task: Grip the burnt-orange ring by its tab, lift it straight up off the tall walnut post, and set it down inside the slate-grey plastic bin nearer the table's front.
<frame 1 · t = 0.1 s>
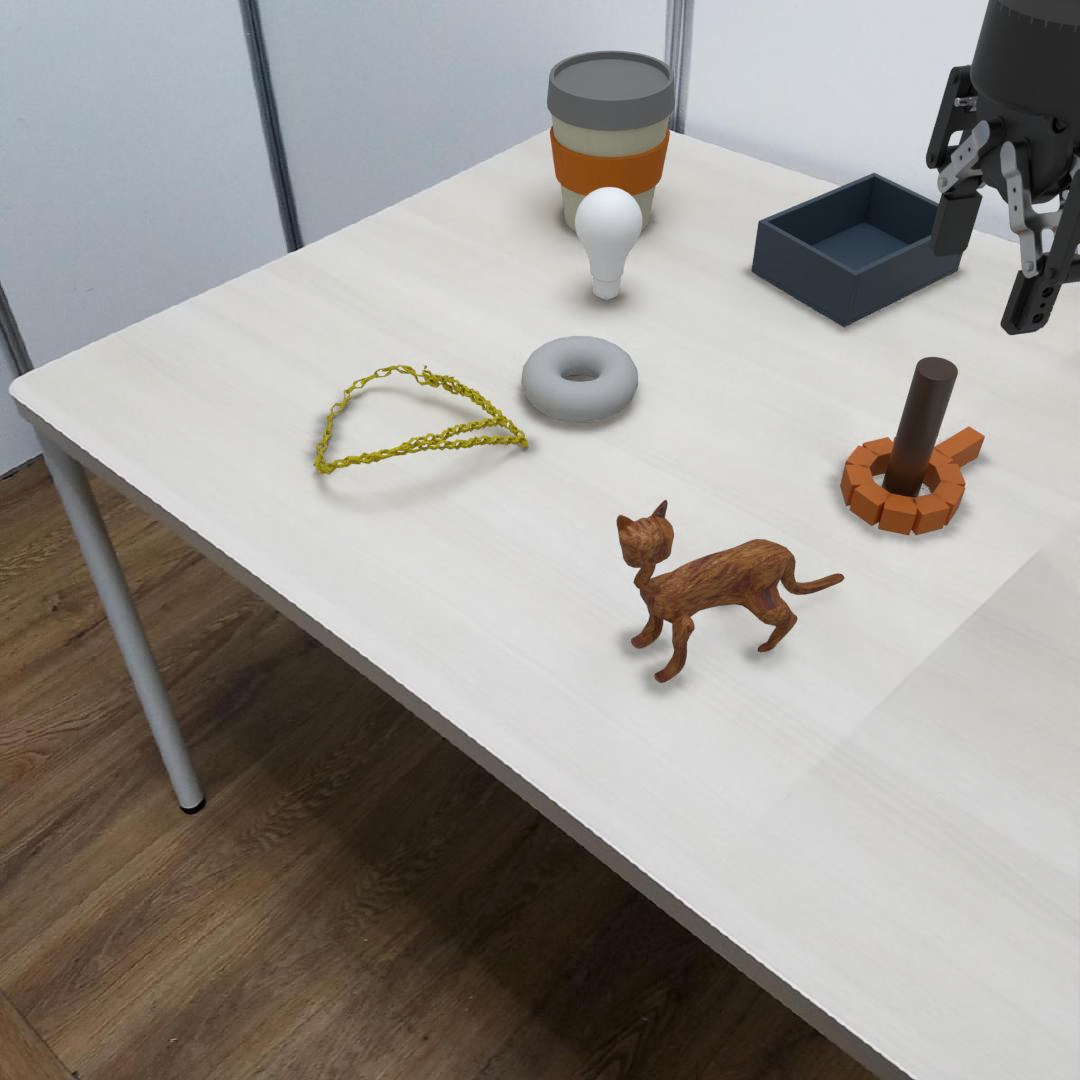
hand: (980, 289, 62), 22 cm above the table, tool pointing down, fingers open, 8 cm apart
reusable coffee cup: (606, 219, 114), on the table
cat figurine: (731, 631, 73), on the table
donut: (579, 395, 92), on the table
ring: (898, 495, 82), on the table
bin: (854, 271, 105), on the table
lightbulb: (605, 299, 103), on the table
decorative chain: (423, 441, 88), on the table
post: (898, 495, 82), on the table
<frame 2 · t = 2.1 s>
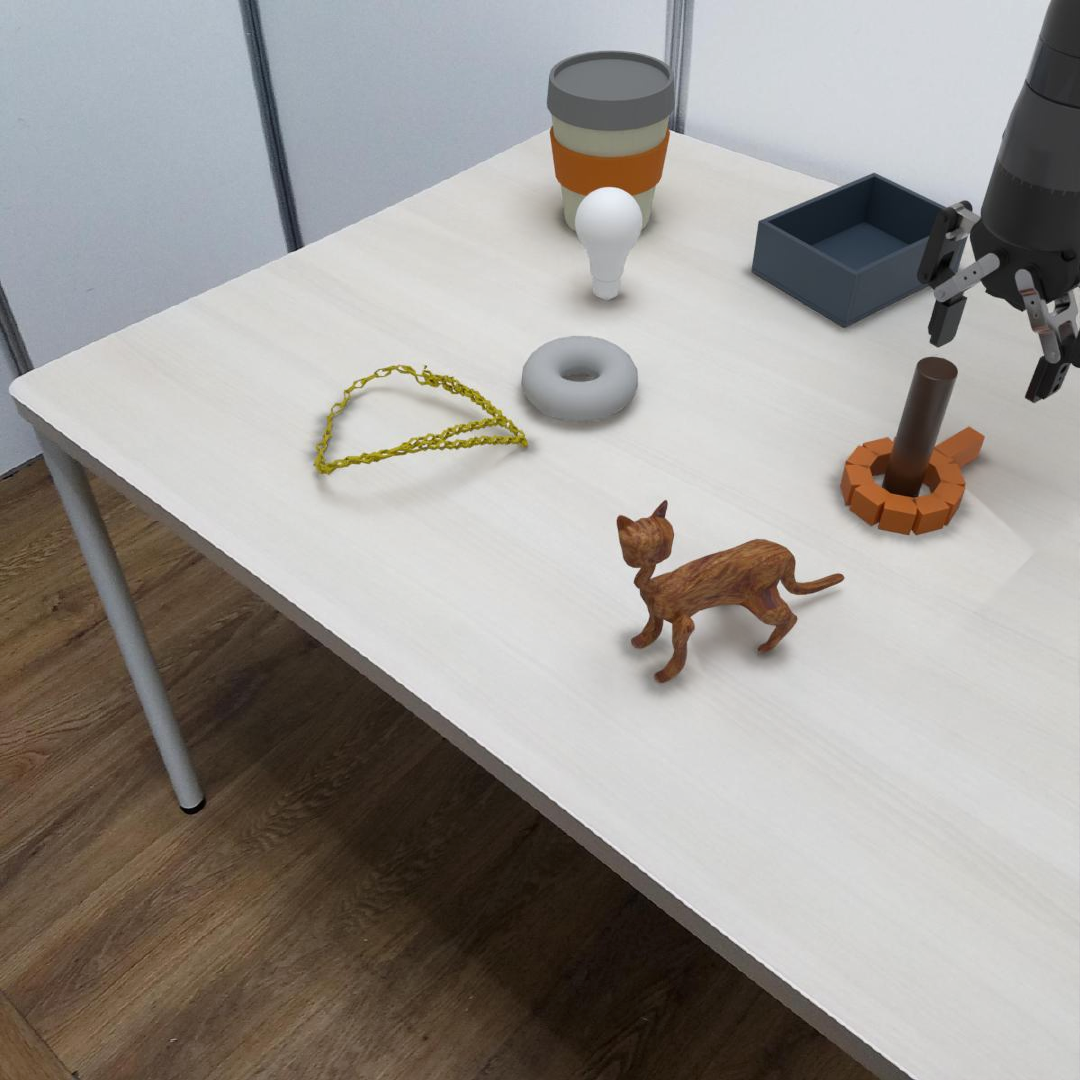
hand: (987, 368, 79), 9 cm above the table, tool pointing down, fingers open, 8 cm apart
nothing on the table moved.
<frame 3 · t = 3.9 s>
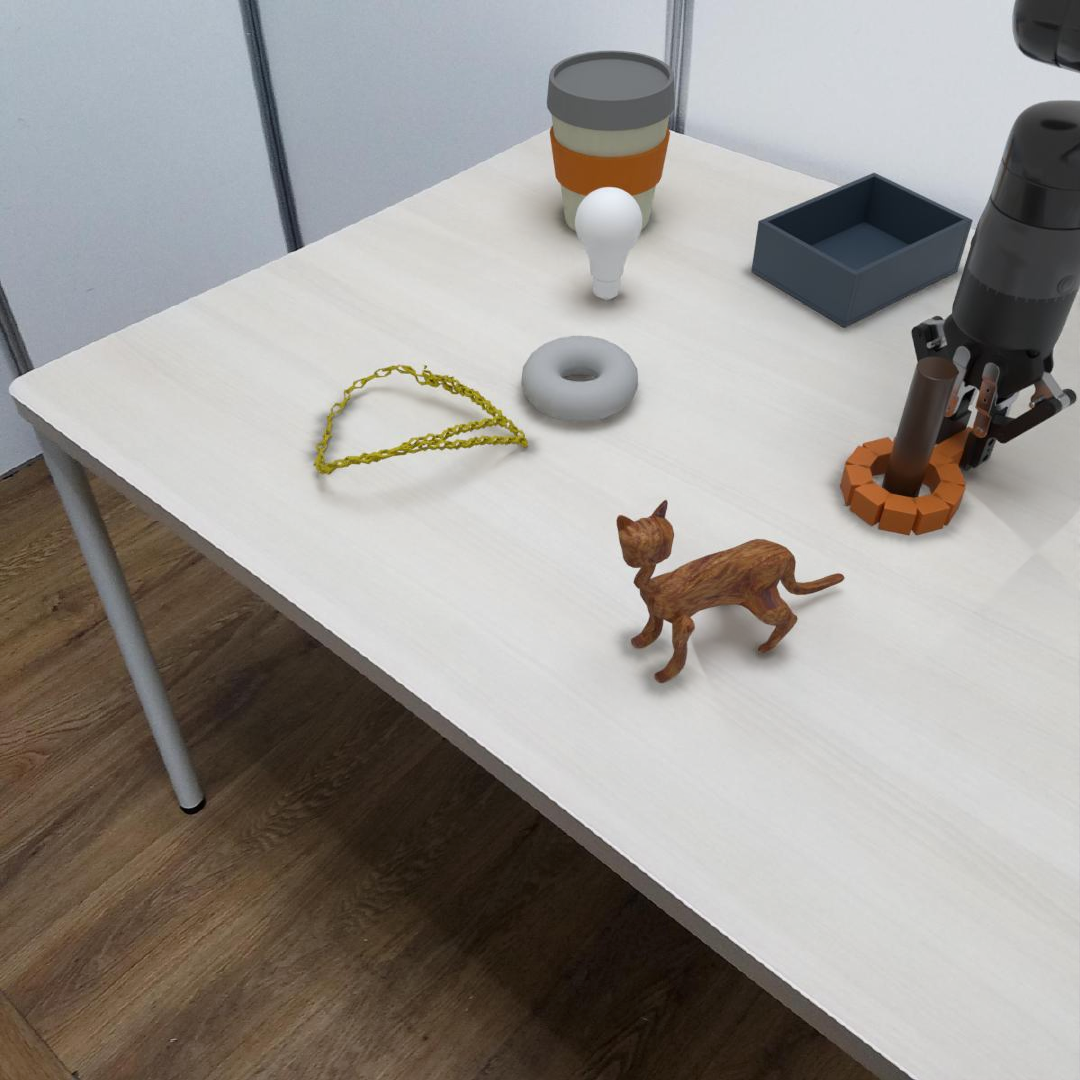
hand: (958, 457, 85), 0 cm above the table, tool pointing down, fingers closed on ring, 1 cm apart
ring: (898, 495, 82), on the table, touching gripper
everything else where it was.
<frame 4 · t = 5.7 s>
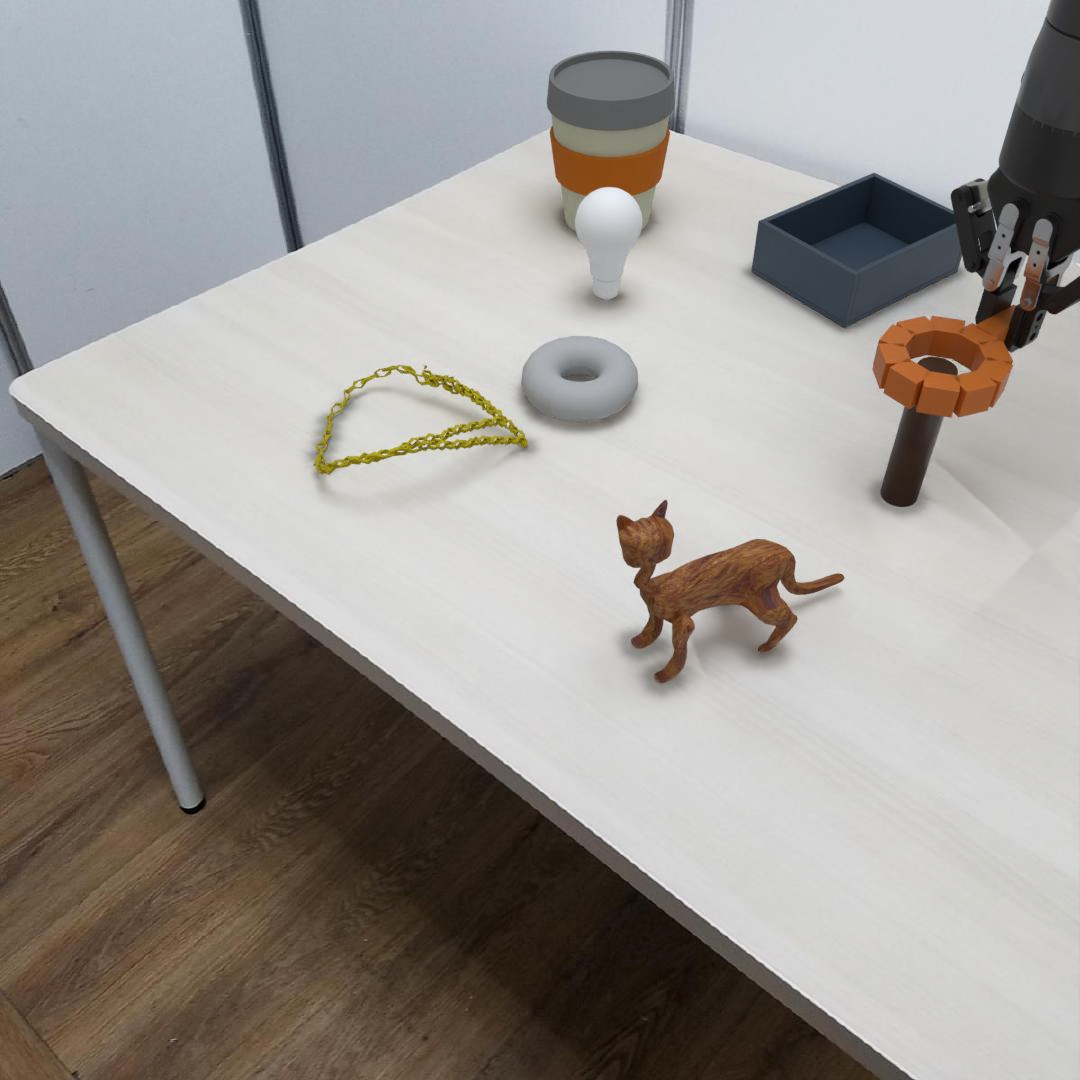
hand: (1001, 338, 77), 11 cm above the table, tool pointing down, fingers closed on ring, 1 cm apart
ring: (937, 377, 75), point 11 cm above the table, touching gripper
everything else where it was.
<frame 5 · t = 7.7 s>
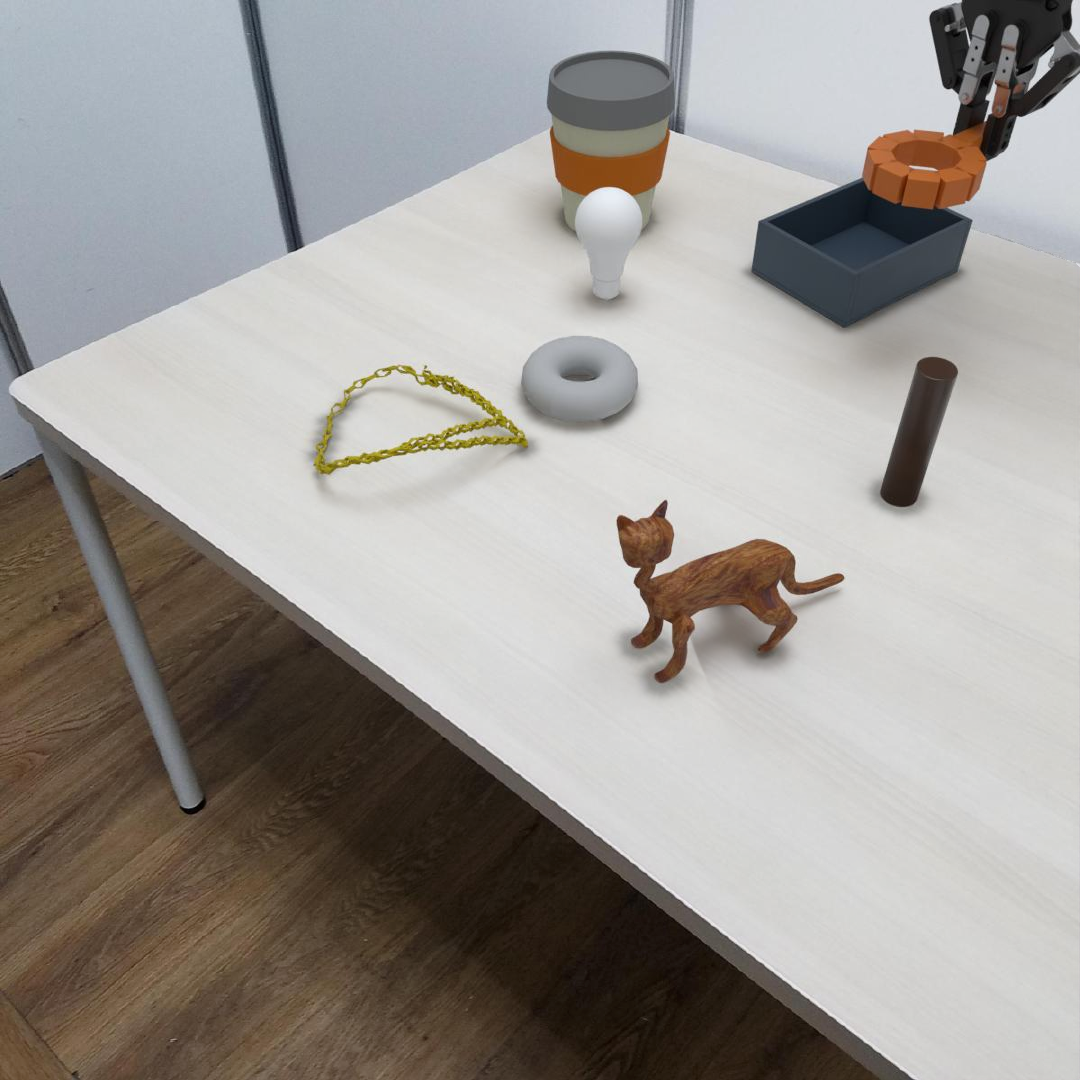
hand: (976, 152, 86), 17 cm above the table, tool pointing down, fingers closed on ring, 1 cm apart
ring: (919, 181, 84), point 16 cm above the table, touching gripper
everything else where it was.
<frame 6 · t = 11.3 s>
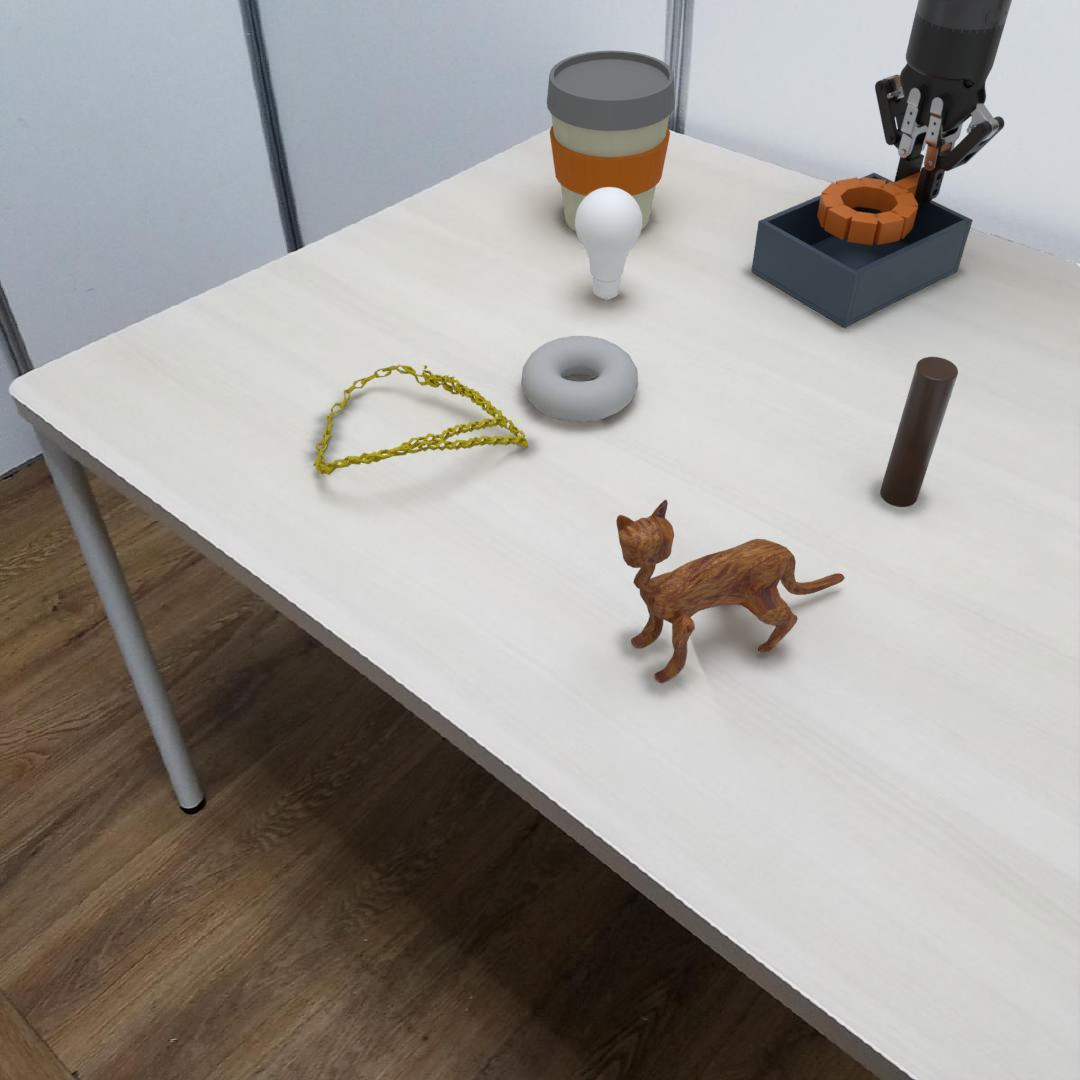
hand: (913, 197, 104), 6 cm above the table, tool pointing down, fingers closed on ring, 1 cm apart
ring: (864, 221, 101), point 5 cm above the table, touching bin, gripper
everything else where it was.
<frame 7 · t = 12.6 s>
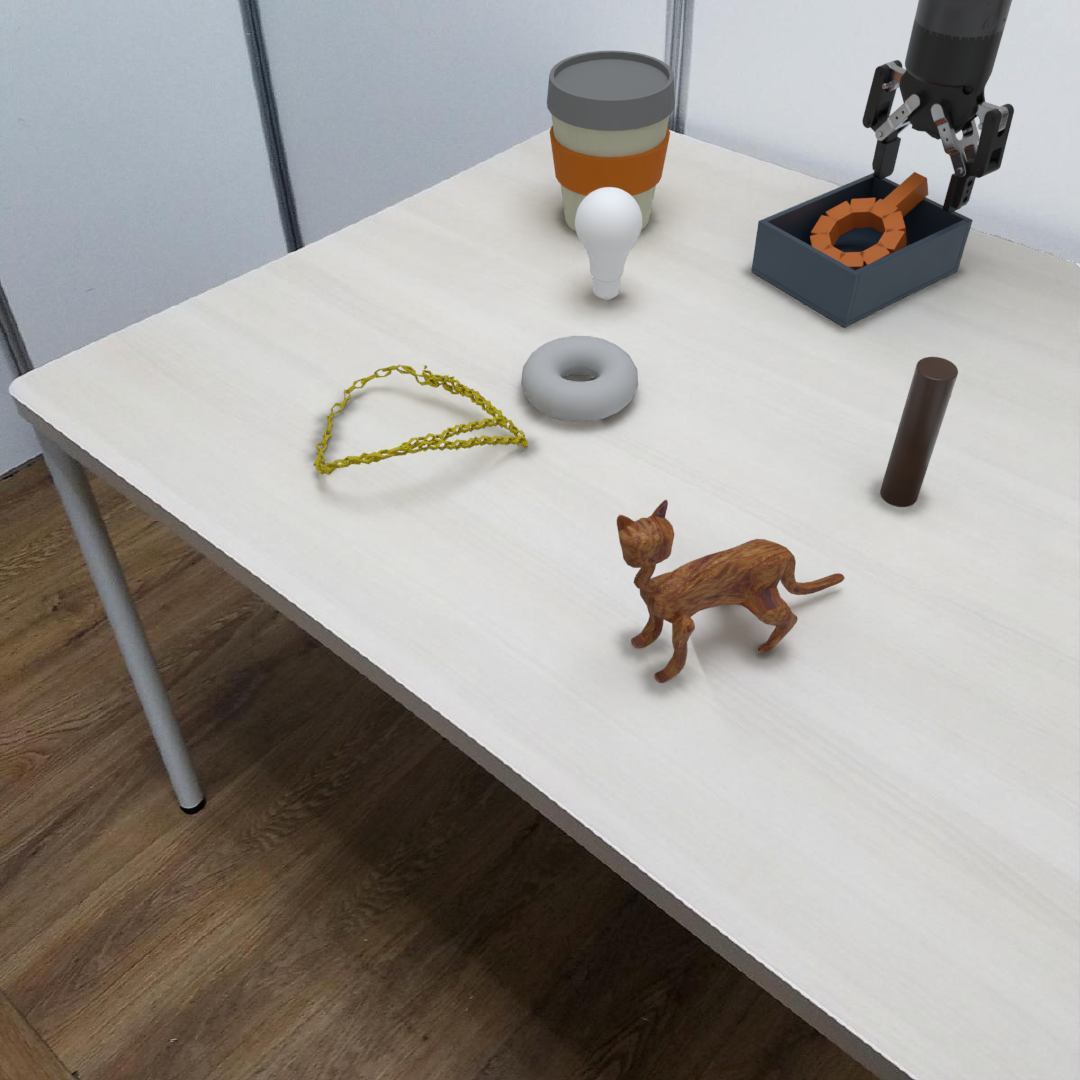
hand: (916, 192, 104), 6 cm above the table, tool pointing down, fingers open, 8 cm apart
ring: (859, 247, 104), point 2 cm above the table, tilted 25°, touching bin
everything else where it was.
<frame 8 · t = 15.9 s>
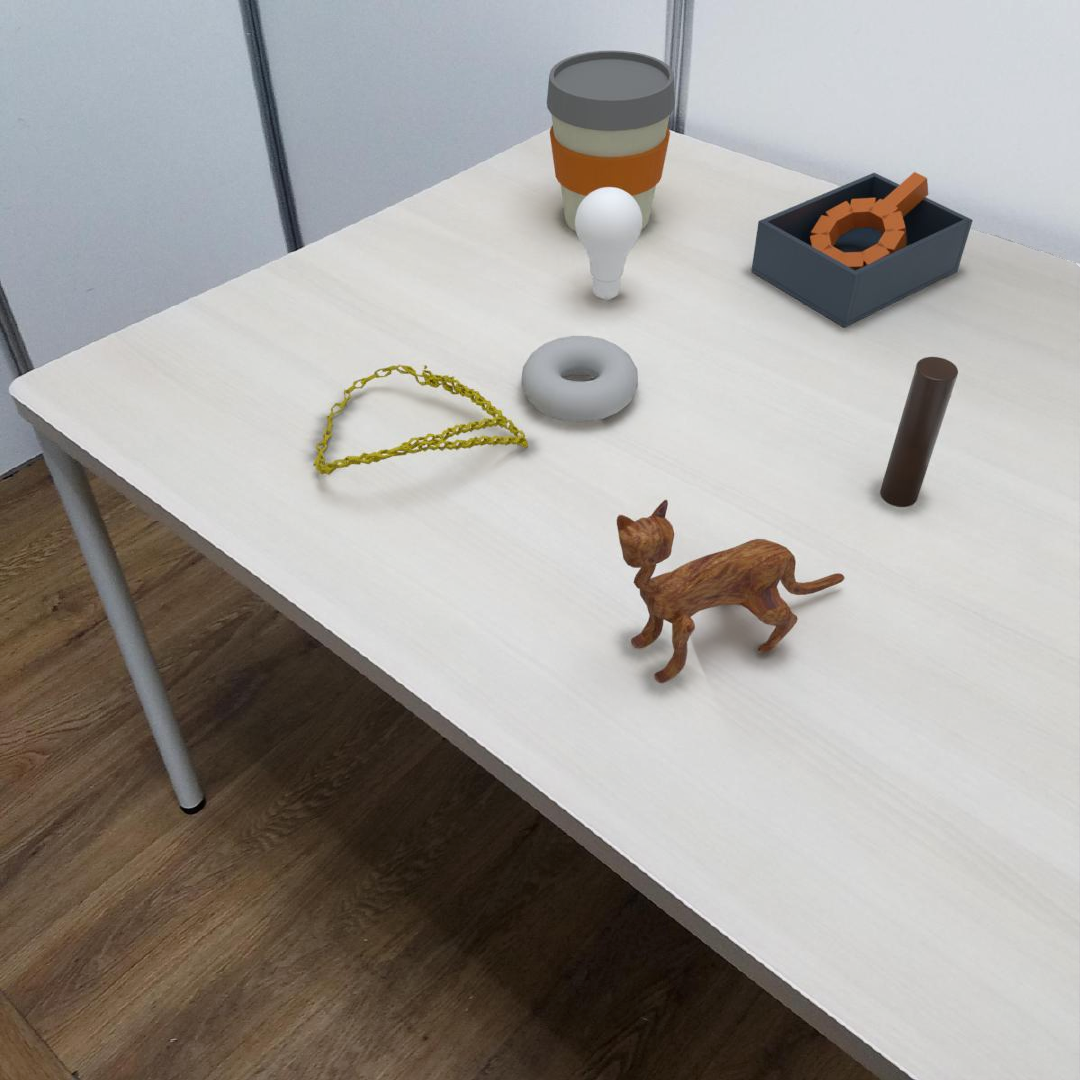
nothing on the table moved.
at the end: ring inside the target area in the bin (0.6 cm from its centre), point 2.3 cm above the bin's base; the gripper is holding nothing; ring moved 33.2 cm from its start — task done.
